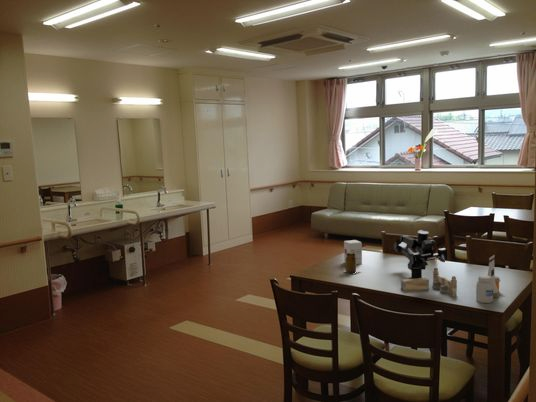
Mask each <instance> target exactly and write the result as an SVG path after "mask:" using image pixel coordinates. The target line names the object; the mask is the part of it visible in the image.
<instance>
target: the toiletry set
mask: <svg viewBox="0 0 536 402" xmlns="http://www.w3.org/2000/svg"><path fill="white" fill-rule="evenodd" d="M495 256H496V255H495V254H493V255H492V256H490V257H489V258H488V259H489V261H488V270H487V275H486V274H485V275H484V274H483V275H478V277H477V279H478V280H477V282H476V284H475V285H476V287H475V289H476V290H475V292H476V293H475V299H476V301H477V302H478V303H482V304H491V303H493V302H494V299H497V298H499V292H500V282H501V279H500V276H496V274H495Z"/></svg>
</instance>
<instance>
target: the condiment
mask: <svg viewBox="0 0 536 402" xmlns="http://www.w3.org/2000/svg"><path fill="white" fill-rule="evenodd" d="M356 266H357V265H356V258H355V253H352V252H349V253H347V257H346V263H345V271H346V272H347V273H346V274H350V275H354V274H353V273H355V272H356V271H357V267H356ZM351 273H352V274H351ZM356 273H357V272H356Z"/></svg>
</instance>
